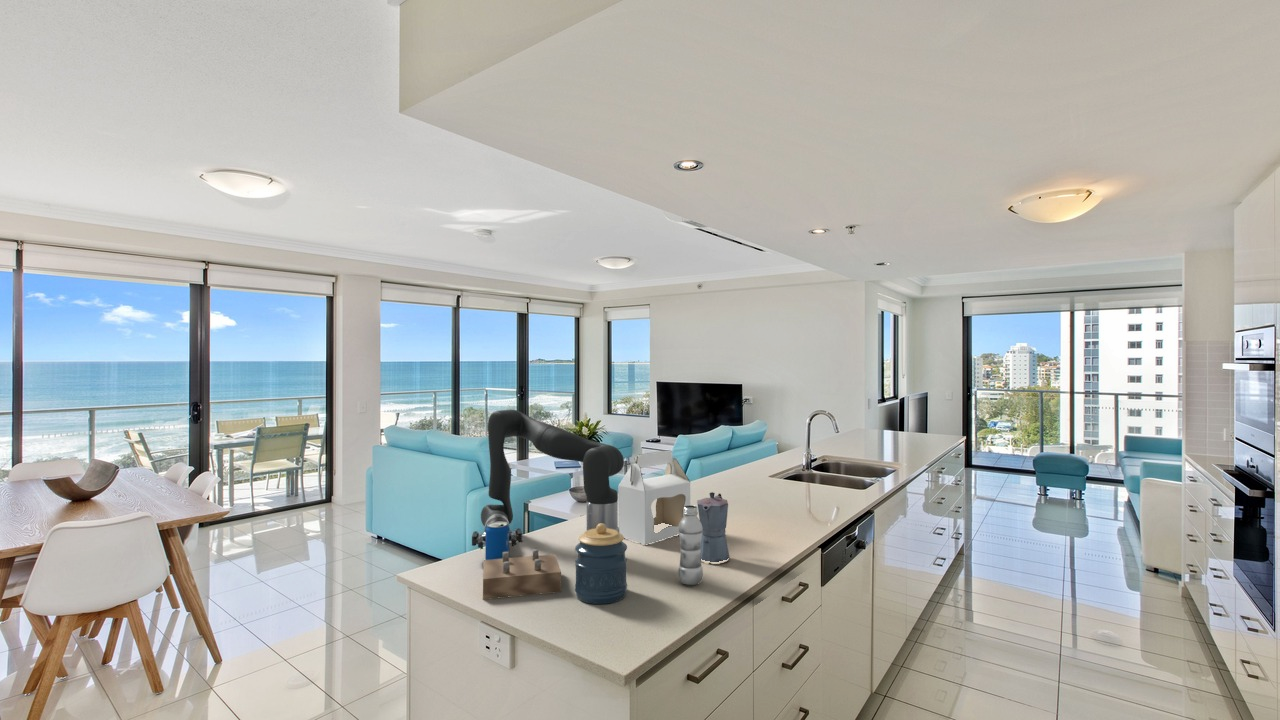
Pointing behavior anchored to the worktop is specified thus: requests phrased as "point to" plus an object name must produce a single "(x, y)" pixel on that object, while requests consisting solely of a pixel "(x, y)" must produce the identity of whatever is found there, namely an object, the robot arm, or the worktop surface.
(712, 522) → the moka pot
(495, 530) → the beverage can
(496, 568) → the peg board
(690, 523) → the plastic bottle
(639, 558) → the worktop surface
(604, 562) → the canister
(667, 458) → the gable box
